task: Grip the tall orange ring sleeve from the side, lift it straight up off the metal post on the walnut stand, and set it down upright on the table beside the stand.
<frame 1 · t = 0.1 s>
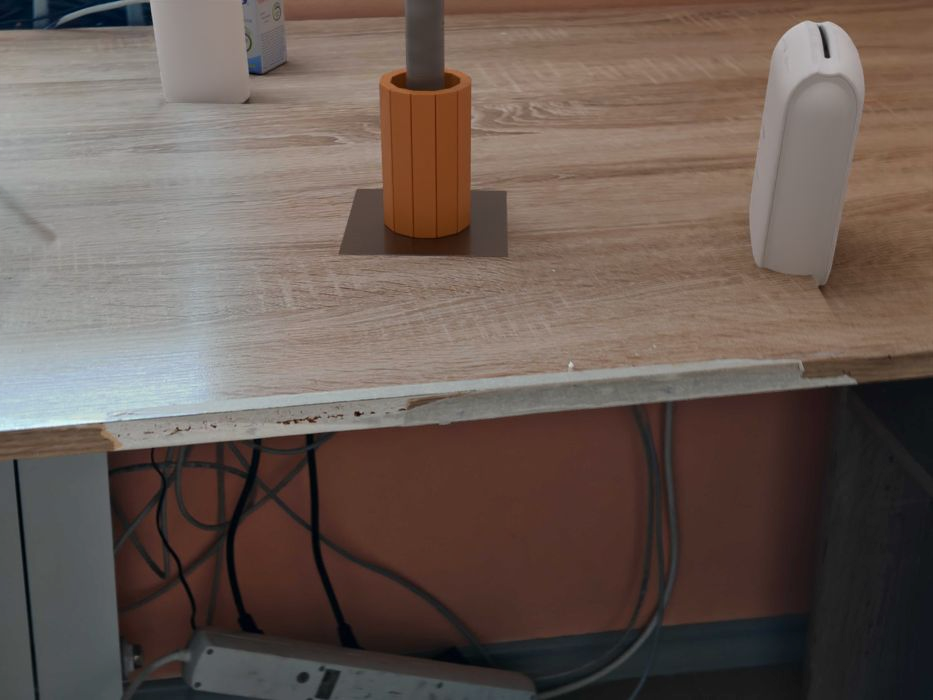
post stand: (427, 239, 61), on the table
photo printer: (784, 255, 60), on the table
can: (208, 103, 82), on the table
medicine box: (235, 65, 91), on the table
ring sleeve: (427, 220, 61), point 1 cm above the table, touching post stand
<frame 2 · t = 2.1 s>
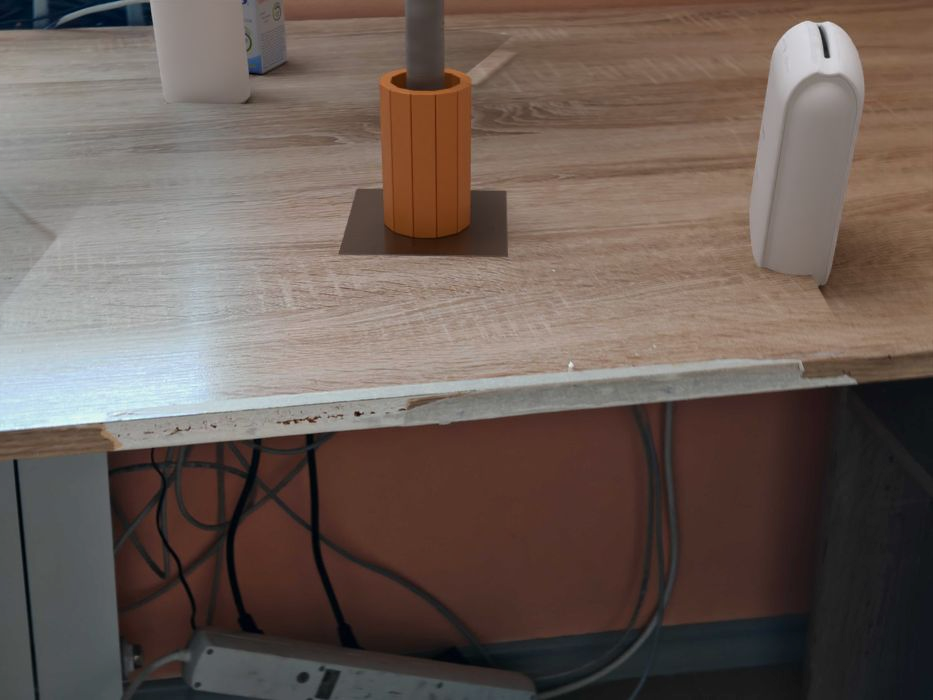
nothing on the table moved.
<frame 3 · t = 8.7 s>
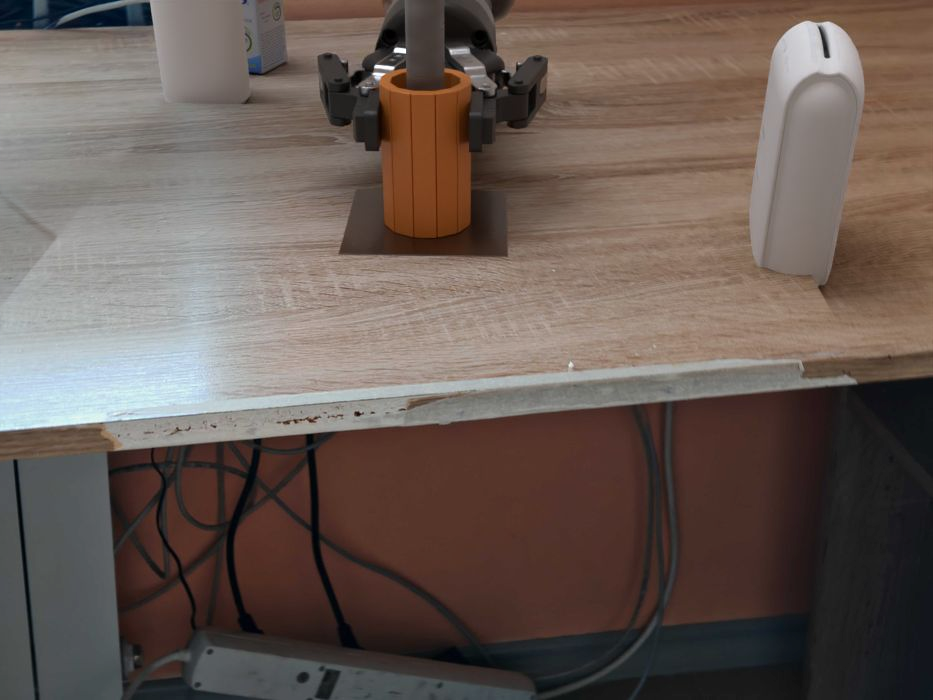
hand: (423, 133, 55), 7 cm above the table, tool horizontal, fingers closed on ring sleeve, 4 cm apart
ring sleeve: (427, 220, 61), point 1 cm above the table, touching gripper, post stand
everything else where it was.
when the fingers open (6 cm above the table, at t = 20.3 s): ring sleeve stays where it is, on the table.
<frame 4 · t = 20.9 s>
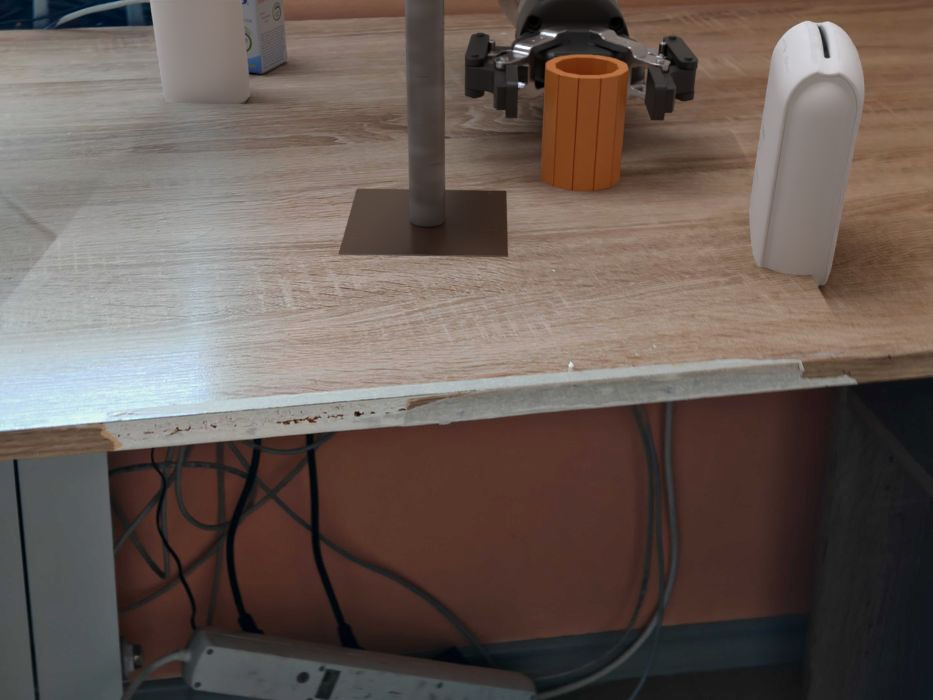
hand: (586, 103, 62), 6 cm above the table, tool horizontal, fingers open, 8 cm apart
ring sleeve: (578, 193, 67), on the table
everything else where it was.
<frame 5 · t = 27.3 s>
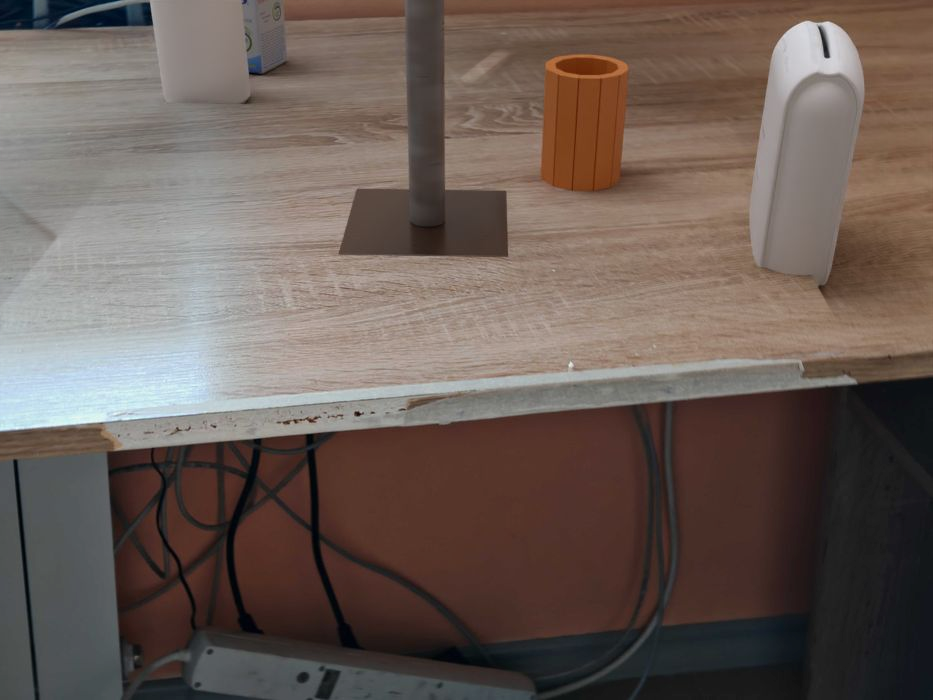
nothing on the table moved.
at the end: ring sleeve inside the target area (0.1 cm from its centre), on the table; ring sleeve tilted 0°; the gripper is holding nothing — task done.
